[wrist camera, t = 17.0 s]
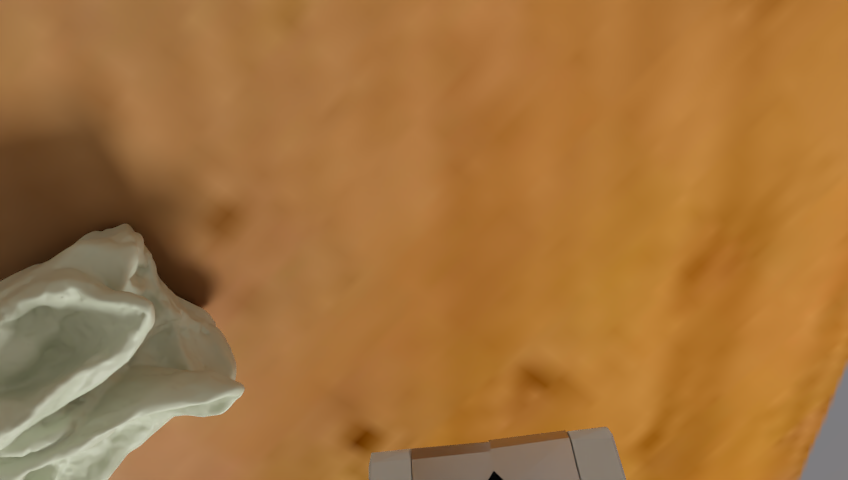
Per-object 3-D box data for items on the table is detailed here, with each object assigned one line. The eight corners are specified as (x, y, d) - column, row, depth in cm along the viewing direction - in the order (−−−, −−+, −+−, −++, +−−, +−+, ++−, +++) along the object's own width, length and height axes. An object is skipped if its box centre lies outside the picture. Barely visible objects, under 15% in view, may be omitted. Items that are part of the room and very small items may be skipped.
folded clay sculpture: (152, 168, 49) (182, 233, 35) (227, 343, 54) (279, 460, 40) (-164, 282, 44) (-273, 411, 30) (-49, 464, 49) (-97, 644, 35)
